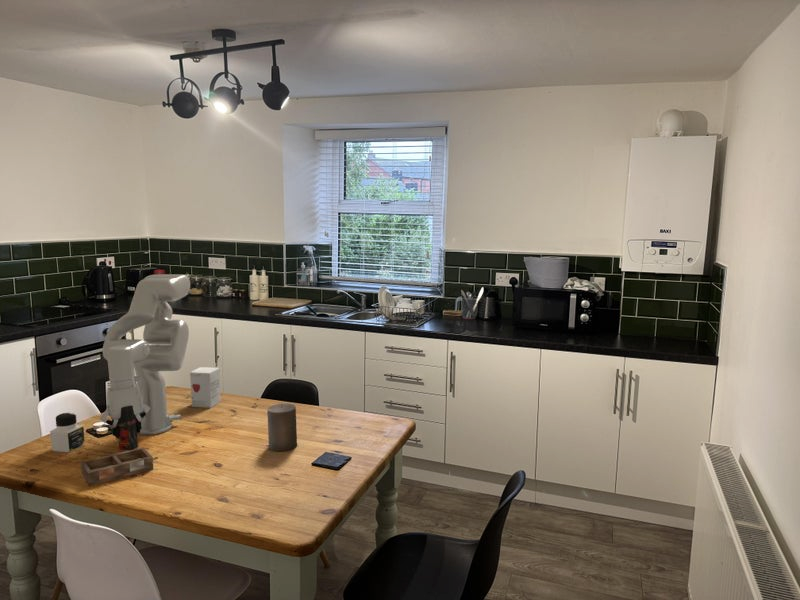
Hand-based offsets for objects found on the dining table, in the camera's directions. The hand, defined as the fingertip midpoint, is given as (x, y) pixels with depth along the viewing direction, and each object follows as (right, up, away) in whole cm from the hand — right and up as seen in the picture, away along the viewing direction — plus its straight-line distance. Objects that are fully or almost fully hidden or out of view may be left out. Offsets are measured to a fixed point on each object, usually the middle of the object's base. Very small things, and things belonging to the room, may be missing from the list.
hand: (127, 434), depth 192 cm
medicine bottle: (-22, -6, +5) cm, 24 cm away
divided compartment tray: (+4, -8, -14) cm, 17 cm away
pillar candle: (+50, -6, +6) cm, 51 cm away
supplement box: (+9, +1, +51) cm, 52 cm away
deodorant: (0, -5, +1) cm, 5 cm away
